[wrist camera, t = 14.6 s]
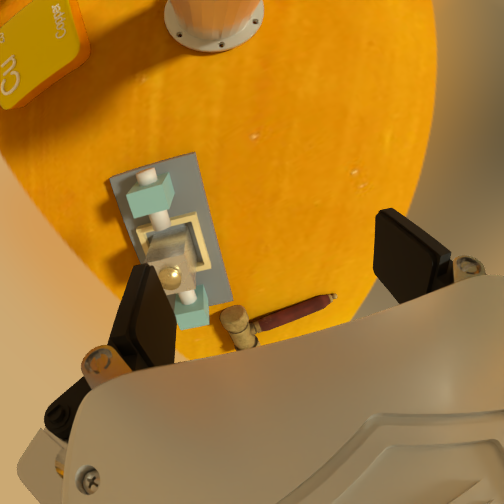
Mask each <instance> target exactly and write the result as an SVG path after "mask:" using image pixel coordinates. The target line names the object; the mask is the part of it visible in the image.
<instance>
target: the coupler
mask: <svg viewBox="0 0 504 504" xmlns="http://www.w3.org/2000/svg"><path fill="white" fill-rule="evenodd" d="M144 263H148V264H149V265H150V266H151V265H153V266H154V268H155V270H156V272H157V275H158V277H159V280H160V282H161V284H162V287H163V289H164V291H165V293H166V295H170V294H175V293H180V292H184V291H189V290H194V289H196V264H197V255H196V252H195V249H194V246H193V242H192V239H191V236H190V233H189V229H188V226H184V227H180V228H176V229H172V230H168V231H164V232H160V233H156V234H154V235H153V238H152V241H151V243H150V246H149V249H148V252H147V255H146V258H145V261H144Z"/></svg>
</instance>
